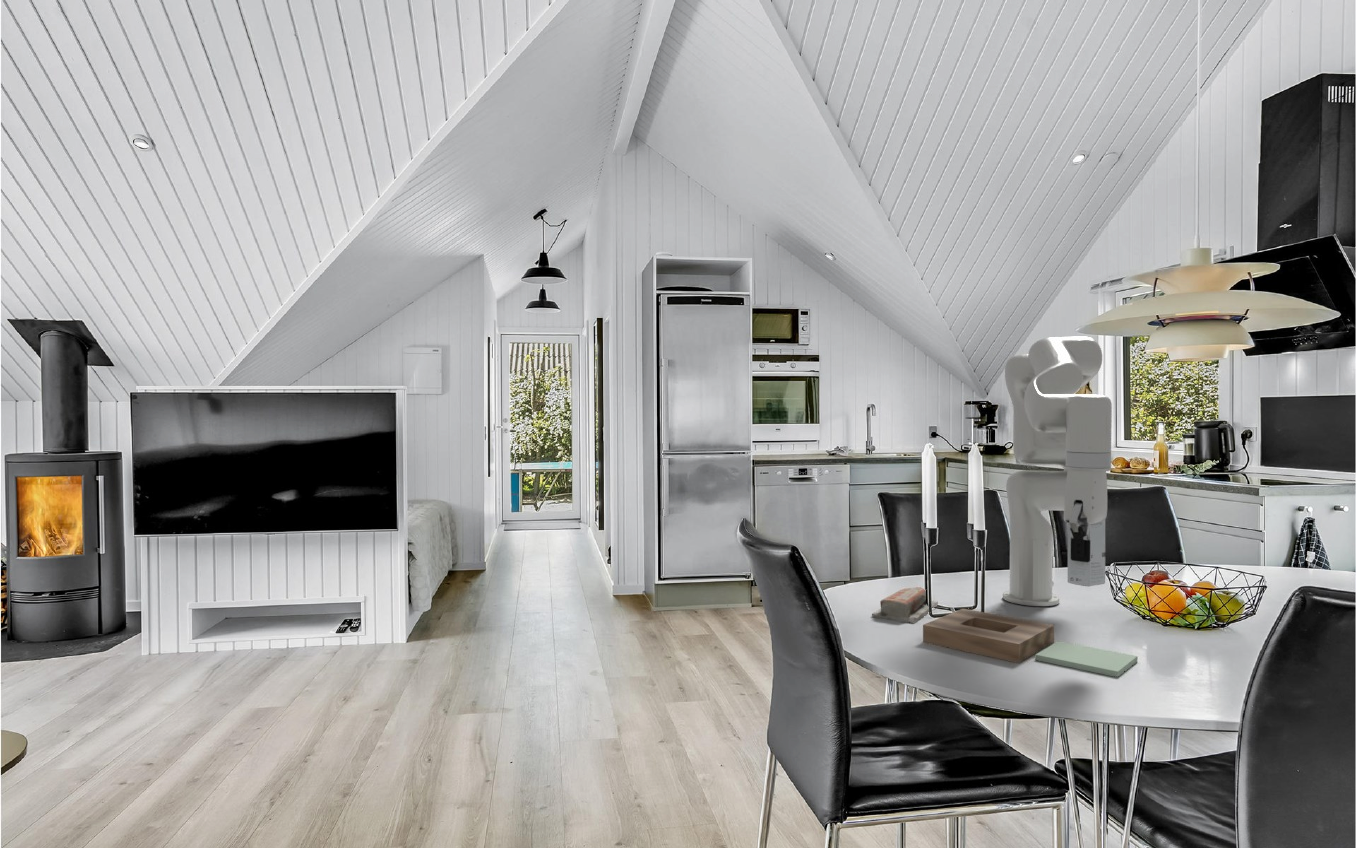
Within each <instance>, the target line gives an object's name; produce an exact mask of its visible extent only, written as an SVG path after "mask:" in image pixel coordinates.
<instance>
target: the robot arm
mask: <svg viewBox="0 0 1356 848" xmlns="http://www.w3.org/2000/svg"><path fill="white" fill-rule="evenodd" d="M1102 364H1103V353H1102V348H1101V346H1100V344H1099V342H1097V341H1096V340H1095V339H1094V338H1092V337H1088V336H1062V337H1059V336H1055V337H1051V336H1050V337H1046V338H1041V339H1039V340H1037V341H1035V342H1034V343H1033V344H1032V345H1031V346H1030V348H1029V350H1028V353H1023V354H1017V355H1013V356H1012V357H1010V358H1009V359H1008V360H1007V362H1005V367H1004V379H1005V385H1006V388H1007V391H1008V394H1009V396H1010V397H1009V398H1010V400H1011V404H1012V407H1013V408H1012V409H1013V418H1012V419H1013V423H1012V425H1013V430H1012V433H1013V435H1012V443H1013V444H1012V445H1013V446H1012V447H1013V449H1012V450H1013V455H1014V458H1015V460H1016V461H1017V462H1018V463H1020V464H1024V465H1033V466H1061V467H1062V468H1063V470H1040V469H1039V470H1035V469H1034V470H1032V469H1029V470H1028V469H1027V470H1019V471H1015V472H1013V473H1011V474H1010V475H1009V477H1008V478H1007V480H1006V482H1005V483H1006V485H1005V487H1006V496H1007V503H1008V510H1009V512H1008V513H1009V590H1007V591H1005V592H1002V599H1003V600H1005V601H1006V602H1009V603H1012V604H1016V605H1022V606H1029V607H1052V606H1057V605H1058V604H1059V603H1060V598H1059V596H1057V595H1056V594H1053V587H1054V586H1055V582H1054V581H1053V547H1054V546H1053V545H1054V544H1053V543H1054V541H1053V539H1054V535H1053V534H1054V533H1053V527H1052V525H1051V524H1050V522H1049V521H1048V519H1046V517H1044V515H1043V514H1042V512H1043V511H1059V512H1060V511H1063V520H1064V522H1065V523H1066V524H1068V523H1070V526H1071V528H1070V530H1071V535H1070V537H1071V560H1073V561H1081V562H1089V561H1090V540H1088V537H1089V531H1090V525H1093V524H1095V523H1098V522H1100V521H1102V520H1103V519H1105V520H1106V519H1107V516H1108V515H1107V514H1108V478H1107V472H1110V471H1112V429H1113V428H1112V427H1113V426H1112V423H1113V421H1112V418H1113V417H1112V416H1113V415H1112V414H1113V412H1112V409H1113V407H1112V406H1113V405H1112V400H1111V399H1110V397H1108V396H1107V395H1103V394H1101V395H1100V394H1092V393H1091V394H1086V393H1085V394H1081V393H1080V394H1079V393H1077V392H1079V389H1083V388H1084V387H1085V386H1086V385H1087V384H1089V382H1090V381H1092V380H1093V378H1095V377H1096V375H1098V373H1099V371H1100V369H1101V367H1102ZM1076 393H1077V394H1076ZM1080 520H1085V521H1086V522H1080ZM1082 527H1085V529H1084V530H1083V528H1082Z"/></svg>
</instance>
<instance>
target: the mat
mask: <svg viewBox="0 0 1356 848" xmlns="http://www.w3.org/2000/svg"><path fill="white" fill-rule="evenodd" d="M1034 655H1035V657H1034V658H1035V661H1039V662H1044V663H1049V664H1055V665H1059V666H1061V667H1062V666H1063V667H1066V668H1067V667H1068V668H1071V669H1077V670H1082V671H1087V672H1092V673H1094V674H1095V673H1097V674H1099V675H1100V674H1101V675H1106V676H1111V677H1114V676H1115V677H1114V678H1119V677H1120V676H1121V675H1123V674H1124V673H1125V672H1126V671H1127V669H1128V670H1129V669H1130V668H1132V667H1133V666H1134V665H1135V664H1137V662H1138V657H1139V656H1138V655H1134V654H1128V653H1122V652H1118V651H1113V650H1108V649H1103V648H1098V647H1097V648H1095V647H1091V646H1087V645H1083V644H1082V645H1081V644H1076V643H1070V642H1066V641H1065V642H1064V641H1060V640H1058V641H1056V642H1054V643H1052V644H1050V645H1049V646H1047V647H1045V648H1044V649H1042V650H1040V651H1039V652H1037V653H1035V654H1034ZM1132 665H1133V666H1132ZM1124 671H1125V672H1124ZM1118 676H1119V677H1118Z"/></svg>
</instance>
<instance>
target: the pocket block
mask: <svg viewBox="0 0 1356 848" xmlns="http://www.w3.org/2000/svg"><path fill="white" fill-rule="evenodd" d="M924 642H926V643H925V644H929V643H930V644H929V645H934V646H938V645H939V646H938V647H943V648H947V647H949V648H948V649H953V650H958V651H961V650H962V651H963V652H966V653H970V652H972V654H976V655H980V654H981V655H980V656H984V657H985V656H986V657H989V658H994V659H999V660H1004V661H1007V662H1013V663H1017V664H1021V662H1024V661H1025V660H1027V659H1028V658H1030V657H1032V656H1033V655H1036V654H1037V653H1039V652H1041V651H1042V650H1044V649H1046V648H1047V647H1049V646H1051V645H1052V644H1054V643H1055V625H1054V624H1050V623H1046V622H1038V621H1034V620H1029V619H1023V618H1017V617H1013V616H1007V615H1006V616H1005V615H1001V614H996V613H995V614H994V613H991V612H984V611H977V610H973V609H967V608H959V609H958V610H956V611H953V612H950V613H949V614H946V615H943V616H941V617H939V618H937V619H934V620H931V621H929V622H927V623H925V624H922V643H924Z"/></svg>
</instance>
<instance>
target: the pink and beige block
mask: <svg viewBox="0 0 1356 848" xmlns="http://www.w3.org/2000/svg"><path fill="white" fill-rule="evenodd" d="M926 590H927V589H924V588H923V587H906V588H902V589H899V590H898V591H896V592H894V593H892V594H890V595H888V596H887V597H885V598H883V599H881V600H880V601H879V602H880V604H879V605H880V609H878V610H876V611H874V612H873V613H872V614H871V617H872V618H877V619H881V620H882V619H884V620H890V621H897V622H903V623H909V622H910V623H911V624H916V623H918V622H919V621H920V620H921V618H922V619H923V618H925V617H926V616H927V614H928V612H929V608H928V606H927V604H926ZM937 605H939V601H935V600H932V607H933V608H934V607H935V606H937ZM937 607H938V606H937ZM928 615H929V614H928ZM924 616H925V617H924Z"/></svg>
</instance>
